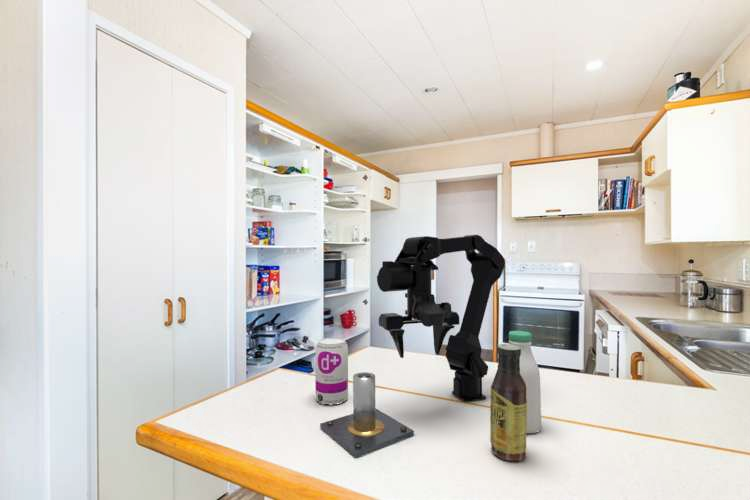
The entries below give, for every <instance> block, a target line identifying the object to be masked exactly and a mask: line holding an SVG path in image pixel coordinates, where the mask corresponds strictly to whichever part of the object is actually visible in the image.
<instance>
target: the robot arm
mask: <svg viewBox="0 0 750 500" xmlns="http://www.w3.org/2000/svg"><path fill="white" fill-rule="evenodd" d="M476 251H477V252H476ZM456 252H465V257H466V260H467V261H468V262H469V263H470V265H471V266H470V273H471V276H472V279H473V282H472V285H471V289H470V293H469V296H468V299H467V304H466V307H465V311H464V314H463V317H462V321H461V324H460V315H459V314H458V312H457V311H454V310H452V304H450V302H441V303H436V297H435V294H434V293H432V271H438V270H439V267H438V266H437V265H436V264H435V263H434V262H433V260H434V259H437V258H439V257H440V256H441V255H445V254H450V253H456ZM381 263H382V265H381V268H379V270H378V273H377V275H376V281H377V286H378V289H379V290H381V292H383V293H388V292H404V291H406V292H405V293H404V297H405V298H406V302H407V303H406V309H405V310H404V315H401V314H398V313H395V312H389V313H381V314H380V315H379V317H378V326H379V327H381V328H383V329H384V330H386V331H388V332H389V335H390V336H391V338H392V340H393V343H394V345H395V348H396V350H397V353H398V355H399V358H401V359H404V354H405V352H404V334H405V329H403V326H405V325H409V324H410V325H411V324H412V325H413V324H421V325H423V326H425V327H429V328H430V327H432V335H433V349H434V353H435V355H440V352H441V348H442V347H443V343H444V340H445V338H446V336H447V334H448V332H450V331H451V330H452V329H455V326H456V325H457V326H458V325H460V328H459V331H458V332H457V333H456V334H455V335H453V334H450V335H449V337H448V341H447V345H446V347H445V349H444V350H446V351H445V358H446V360H447V363H448V367H449V370H451V371H454V377H453V383H452V384H453V390H451V394H453V395H454V396H455V397H457V398H458V399H460V400H461V401H463V402H465V403H466V402H472V401H473V402H474V401H479V400H485V399H487V396H486V395H484V394H483V378H484V377H485V376H487V375H488V371H489V365H488V364H487V363H486V362H485V361H484V360H483V358H482V357H481V356H482V355H481V354H482V345H481V342H480V339H479V338H480V337H479V336H480V333H481V328H482V326H483V325H482V324H483V321H484V318H485V314H486V309H487V306H488V303H489V300H490V299H489V298H490V294H491V291H492V287H493V285H494V284H495V283H496V282H497V281H498V280H499V279H500V278H501V277H502V274H503V271H504V269H505V265H506V259H505V258H504V256H503V254H502V253H500V251H499V250H498V249H497V248H496V247H495V246H493V245H491V243H488V242H487V241H485V239H484V238H483V237H482V236H481V235H479V234H470V235H469V234H468V235H463V236H458V237H457V236H454V237H446V238H438V237H435V236H411V237H408V238H406V239H405V241H404V242H403V245H402V249H401V250H400V251H399V253H398V255H397V257H396V259H395V260H394V261H392V260H391V261H390V260H386V261H382V262H381Z"/></svg>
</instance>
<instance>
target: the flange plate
mask: <svg viewBox="0 0 750 500" xmlns="http://www.w3.org/2000/svg"><path fill="white" fill-rule="evenodd" d="M375 411H376V428H375V429H374V430H373V431H370V432H358V431H356V430H354V428H353V413H351V414H348V415H344V416H341V417H337V418H334V419H331V420H327V421H324V422H321V423H320V426H319V428H320V429H321V430H322V432H324V433H325V434H327V435H328V437H330V438H331V439H332V440H333V441H335V442H336V443H337V444H338V445H340V447H341V448H342V449H344V451H345V450H346V452H347V453H348V454H350V455H351V456H352V457H353V458H355V459H357V458H361V457H362V456H365V455H367V454H370V453H372V452H373V453H374V452H375V451H378V450H380V449H383V448H386V447H388V446H390V445H393V444H396V443H398V442H399V443H400V442H402V441H403V440H406V439H409V438H412V437H414V436H415V430H413V429H412V428H410V427H408V426H407V425H405V424H404V423H401V422H400V421H398V420H397V419H395V418H394V417H391V416H390V415H388V414H387V413H385V412H383V411H381V410H380V409H377V408H376V407H375ZM413 435H414V436H413ZM411 436H412V437H411Z"/></svg>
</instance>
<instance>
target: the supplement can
mask: <svg viewBox="0 0 750 500" xmlns="http://www.w3.org/2000/svg"><path fill="white" fill-rule="evenodd" d="M348 397H349V346H348V344H347V341H346V339H345V338H340V337H326V338H320V339H319V340H318V341H317V343H316V346H315V400H316V401H317V402H318V401H319V402H320V403H323V404H337V403H341V402H343V401H344V402H346V400H348ZM319 402H318V403H319ZM344 402H343V403H344ZM320 403H319V404H320ZM323 404H322V405H323ZM341 404H342V403H341Z"/></svg>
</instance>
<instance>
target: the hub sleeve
mask: <svg viewBox="0 0 750 500" xmlns="http://www.w3.org/2000/svg"><path fill="white" fill-rule="evenodd" d="M352 392H353V393H352V395H353V397H352V401H353V404H352V405H353V406H352V408H353V409H352V411H353V412H352V414H353V428H354V430H356V431H358V432H370V431H373V430H374V429H375V428H376V411H375V408H376V374H374V373H373V372H368V371H367V372H365V371H364V372H357V373H354V374H353V376H352Z"/></svg>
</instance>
